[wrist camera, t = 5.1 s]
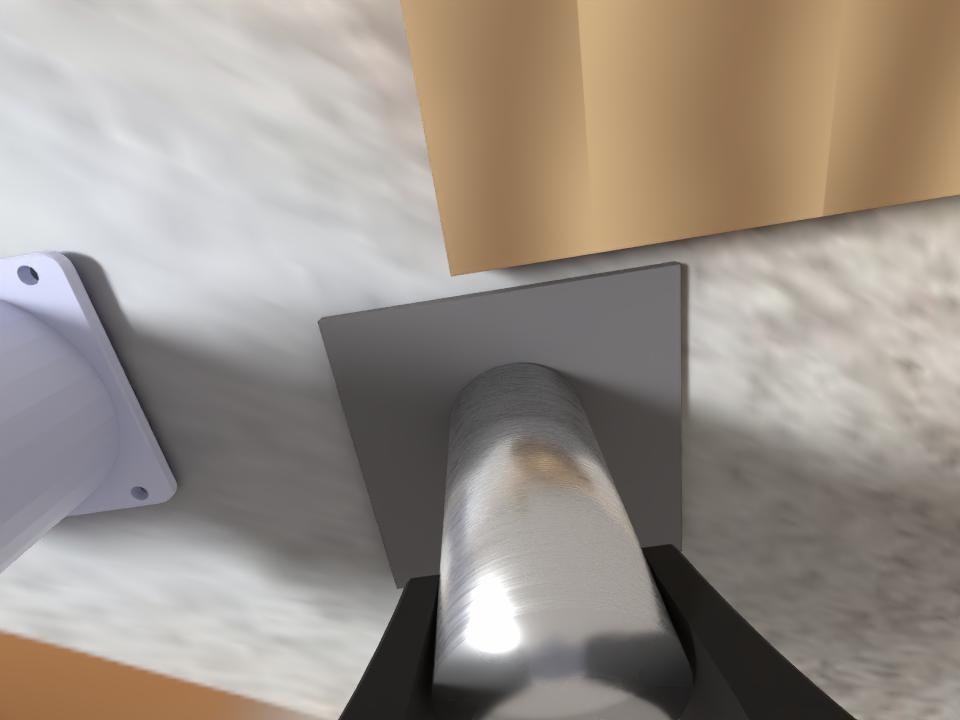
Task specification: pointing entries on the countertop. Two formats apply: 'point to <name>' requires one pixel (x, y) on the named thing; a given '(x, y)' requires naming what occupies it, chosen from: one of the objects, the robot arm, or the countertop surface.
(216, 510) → the countertop surface
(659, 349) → the mat
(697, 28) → the holder
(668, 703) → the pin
